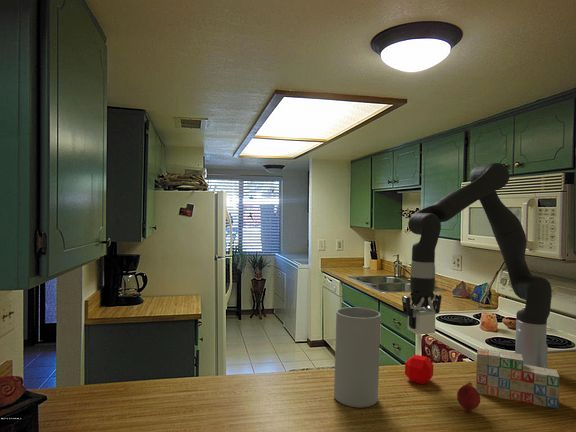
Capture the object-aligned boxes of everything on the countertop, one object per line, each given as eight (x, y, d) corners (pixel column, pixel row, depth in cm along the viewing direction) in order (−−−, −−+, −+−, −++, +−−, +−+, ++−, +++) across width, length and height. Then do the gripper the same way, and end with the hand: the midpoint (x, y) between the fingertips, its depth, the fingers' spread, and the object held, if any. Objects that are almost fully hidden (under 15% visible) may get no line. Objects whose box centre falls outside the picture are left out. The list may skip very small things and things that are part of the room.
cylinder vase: (338, 386, 128) (340, 305, 128) (379, 393, 124) (382, 309, 124) (329, 404, 116) (332, 315, 116) (375, 412, 113) (378, 320, 112)
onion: (469, 418, 111) (470, 388, 111) (452, 408, 116) (453, 380, 116) (484, 413, 113) (485, 384, 113) (466, 404, 118) (467, 376, 118)
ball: (434, 379, 135) (435, 356, 135) (428, 388, 129) (429, 363, 129) (409, 374, 140) (410, 351, 140) (402, 382, 133) (403, 358, 133)
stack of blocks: (556, 401, 123) (557, 359, 122) (558, 410, 117) (560, 366, 117) (476, 385, 132) (477, 346, 132) (475, 393, 127) (476, 352, 126)
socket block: (422, 327, 138) (423, 307, 137) (434, 333, 132) (435, 311, 132) (407, 329, 135) (408, 308, 135) (419, 334, 130) (420, 312, 130)
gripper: (432, 272, 139) (431, 322, 140) (396, 274, 134) (395, 326, 135) (448, 276, 132) (447, 329, 133) (411, 278, 127) (409, 332, 128)
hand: (421, 327), depth 134 cm, fingers closed on socket block, 6 cm apart
